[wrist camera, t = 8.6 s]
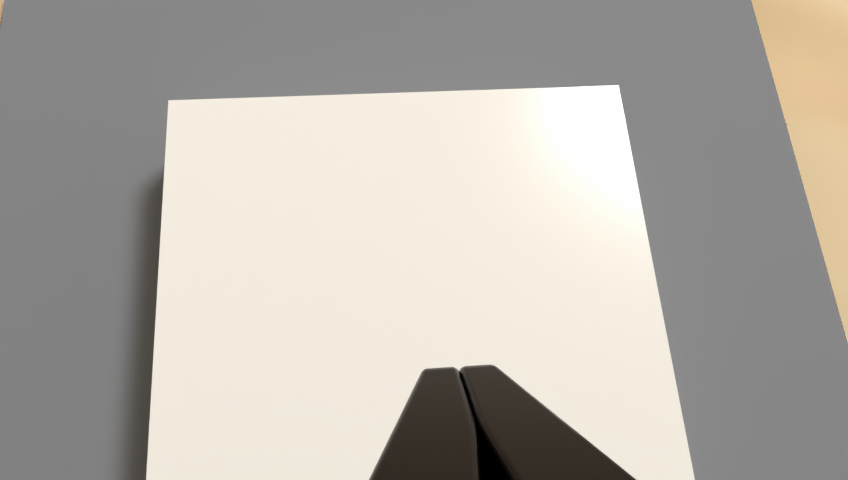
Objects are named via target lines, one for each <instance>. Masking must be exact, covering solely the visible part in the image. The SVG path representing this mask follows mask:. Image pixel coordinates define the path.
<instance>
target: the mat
mask: <svg viewBox="0 0 848 480" xmlns="http://www.w3.org/2000/svg"><path fill="white" fill-rule="evenodd" d="M615 85H619V91H620V96H621V101H622V106H623V111H624V116H625V122H626V127H627V132H628V137H629V142H630V147H631V152H632V158H633V163H634V168H635V173H636V178H637V183H638V189H639V194H640V199H641V204H642V209H643V214H644V220H645V225H646V230H647V235H648V240H649V245H650V251H651V256H652V261H653V266H654V271H655V276H656V282H657V287H658V292H659V297H660V302H661V307H662V313H663V318H664V323H665V328H666V333H667V338H668V343H669V349H670V354H671V359H672V364H673V369H674V374H675V380H676V385H677V390H678V395H679V400H680V405H681V411H682V416H683V421H684V426H685V431H686V436H687V442H688V447H689V452H690V457H691V462H692V467H693V473H694V478H695V480H848V343H847V339H846V336H845V332H844V329H843V325H842V322H841V318H840V315H839V311H838V307H837V304H836V300H835V297H834V293H833V290H832V286H831V283H830V279H829V275H828V272H827V268H826V265H825V261H824V258H823V254H822V251H821V247H820V244H819V240H818V236H817V233H816V229H815V226H814V222H813V219H812V215H811V212H810V208H809V204H808V201H807V197H806V194H805V190H804V187H803V183H802V180H801V176H800V173H799V169H798V165H797V162H796V158H795V155H794V151H793V148H792V144H791V141H790V137H789V133H788V130H787V126H786V123H785V119H784V116H783V112H782V109H781V105H780V102H779V98H778V94H777V91H776V87H775V84H774V80H773V77H772V73H771V70H770V66H769V62H768V59H767V55H766V52H765V48H764V45H763V41H762V38H761V34H760V31H759V27H758V23H757V20H756V16H755V13H754V9H753V6H752V2H751V0H5V1H4V7H3V13H2V19H1V26H0V480H146V472H147V455H148V438H149V421H150V404H151V387H152V370H153V353H154V336H155V319H156V302H157V285H158V268H159V251H160V234H161V217H162V200H163V183H164V166H165V149H166V132H167V115H168V100H192V99H222V98H253V97H283V96H313V95H343V94H373V93H404V92H434V91H464V90H494V89H524V88H555V87H585V86H615Z"/></svg>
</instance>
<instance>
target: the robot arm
mask: <svg viewBox="0 0 848 480" xmlns="http://www.w3.org/2000/svg"><path fill="white" fill-rule="evenodd" d="M369 480H636V479H635V478H634V477H633V476H631V475H630V474H629V473H628V472H626V471H625V470H624V469H623V468H621V467H620V466H619V465H618V464H616V463H615V462H614V461H613V460H612V459H610V458H609V457H608V456H607V455H605V454H604V453H603V452H602V451H600V450H599V449H598V448H597V447H595V446H594V445H593V444H592V443H591V442H589V441H588V440H587V439H586V438H584V437H583V436H582V435H581V434H579V433H578V432H577V431H576V430H574V429H573V428H572V427H571V426H570V425H568V424H567V423H566V422H565V421H563V420H562V419H561V418H560V417H558V416H557V415H556V414H555V413H553V412H552V411H551V410H550V409H548V408H547V407H546V406H545V405H544V404H542V403H541V402H540V401H539V400H537V399H536V398H535V397H534V396H532V395H531V394H530V393H529V392H527V391H526V390H525V389H524V388H523V387H521V386H520V385H519V384H518V383H516V382H515V381H514V380H513V379H511V378H510V377H509V376H508V375H506V374H505V373H504V372H503V371H502V370H500V369H499V368H498V367H496V366H494V365H490V364H489V365H474V366H464V367H462V368H460V370H459V371H458V369H456V368H455V367H442V368H427V369H424V370H423V371H422V372H421V374H420V376H419V378H418V380H417V382H416V384H415V386H414V388H413V390H412V392H411V394H410V396H409V398H408V400H407V402H406V404H405V407H404V409H403V411H402V413H401V415H400V417H399V419H398V421H397V423H396V425H395V427H394V429H393V431H392V433H391V435H390V437H389V439H388V441H387V443H386V446H385V448H384V450H383V452H382V454H381V456H380V458H379V460H378V462H377V464H376V466H375V468H374V470H373V472H372V474H371V476H370V478H369Z"/></svg>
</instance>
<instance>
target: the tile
mask: <svg viewBox="0 0 848 480" xmlns="http://www.w3.org/2000/svg"><path fill="white" fill-rule="evenodd" d="M489 364H490V365H494V366H496V367H498V368H499V369H500V370H502V371H503V372H504V373H505V374H506V375H508V376H509V377H510V378H511V379H513V380H514V381H515V382H516V383H518V384H519V385H520V386H521V387H523V388H524V389H525V390H526V391H527V392H529V393H530V394H531V395H532V396H534V397H535V398H536V399H537V400H539V401H540V402H541V403H542V404H544V405H545V406H546V407H547V408H548V409H550V410H551V411H552V412H553V413H555V414H556V415H557V416H558V417H560V418H561V419H562V420H563V421H565V422H566V423H567V424H568V425H570V426H571V427H572V428H573V429H574V430H576V431H577V432H578V433H579V434H581V435H582V436H583V437H584V438H586V439H587V440H588V441H589V442H591V443H592V444H593V445H594V446H595V447H597V448H598V449H599V450H600V451H602V452H603V453H604V454H605V455H607V456H608V457H609V458H610V459H612V460H613V461H614V462H615V463H616V464H618V465H619V466H620V467H621V468H623V469H624V470H625V471H626V472H628V473H629V474H630V475H631V476H633V477H634V478H635V479H636V480H695V478H694V473H693V467H692V462H691V457H690V452H689V447H688V442H687V436H686V431H685V426H684V421H683V416H682V411H681V405H680V400H679V395H678V390H677V385H676V380H675V374H674V369H673V364H672V359H671V354H670V349H669V343H668V338H667V333H666V328H665V323H664V318H663V313H662V307H661V302H660V297H659V292H658V287H657V282H656V276H655V271H654V266H653V261H652V256H651V251H650V245H649V240H648V235H647V230H646V225H645V220H644V214H643V209H642V204H641V199H640V194H639V189H638V183H637V178H636V173H635V168H634V163H633V158H632V152H631V147H630V142H629V137H628V132H627V127H626V122H625V116H624V111H623V106H622V101H621V96H620V91H619V85H615V86H585V87H555V88H524V89H494V90H464V91H434V92H404V93H373V94H343V95H313V96H283V97H253V98H222V99H192V100H168V115H167V132H166V149H165V166H164V183H163V200H162V217H161V234H160V251H159V268H158V285H157V302H156V319H155V336H154V353H153V370H152V387H151V404H150V421H149V438H148V455H147V472H146V480H369V478H370V476H371V474H372V472H373V470H374V468H375V466H376V464H377V462H378V460H379V458H380V456H381V454H382V452H383V450H384V448H385V446H386V443H387V441H388V439H389V437H390V435H391V433H392V431H393V429H394V427H395V425H396V423H397V421H398V419H399V417H400V415H401V413H402V411H403V409H404V407H405V404H406V402H407V400H408V398H409V396H410V394H411V392H412V390H413V388H414V386H415V384H416V382H417V380H418V378H419V376H420V374H421V372H422V371H423V370H424V369H427V368H442V367H455V368H456V369H458V371H459V370H460V368H462V367H464V366H474V365H489Z"/></svg>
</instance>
